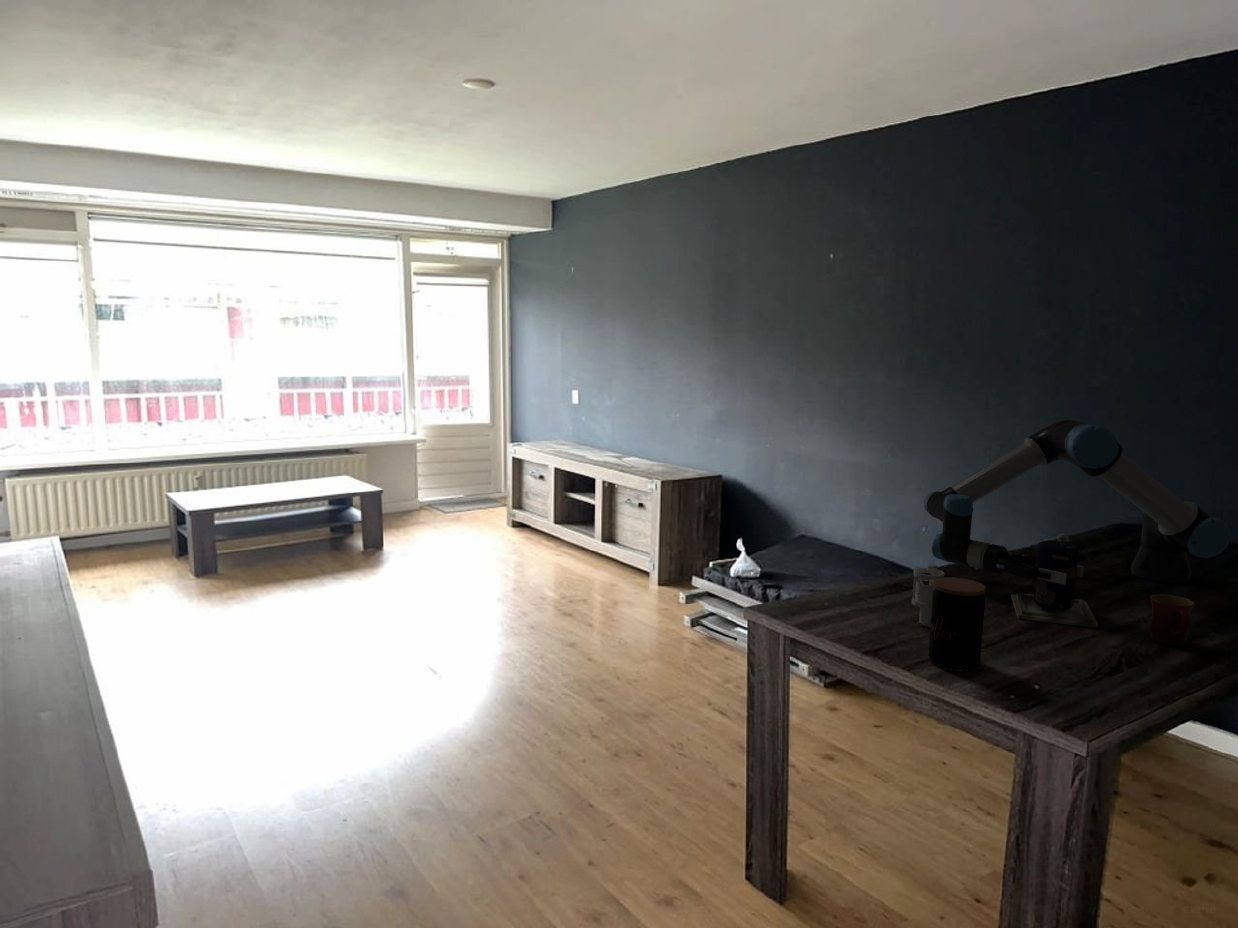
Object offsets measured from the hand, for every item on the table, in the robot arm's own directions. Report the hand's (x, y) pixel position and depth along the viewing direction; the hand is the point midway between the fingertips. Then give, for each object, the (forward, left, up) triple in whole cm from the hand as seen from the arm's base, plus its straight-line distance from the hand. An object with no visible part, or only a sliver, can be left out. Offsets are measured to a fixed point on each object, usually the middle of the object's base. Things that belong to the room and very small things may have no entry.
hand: (1074, 575), depth 209 cm
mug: (-19, +13, -11) cm, 26 cm away
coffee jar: (+29, +44, -11) cm, 54 cm away
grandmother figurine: (-3, -42, -11) cm, 44 cm away
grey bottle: (+35, +21, -11) cm, 42 cm away
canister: (+4, -2, -10) cm, 11 cm away
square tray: (+4, -2, -11) cm, 12 cm away
